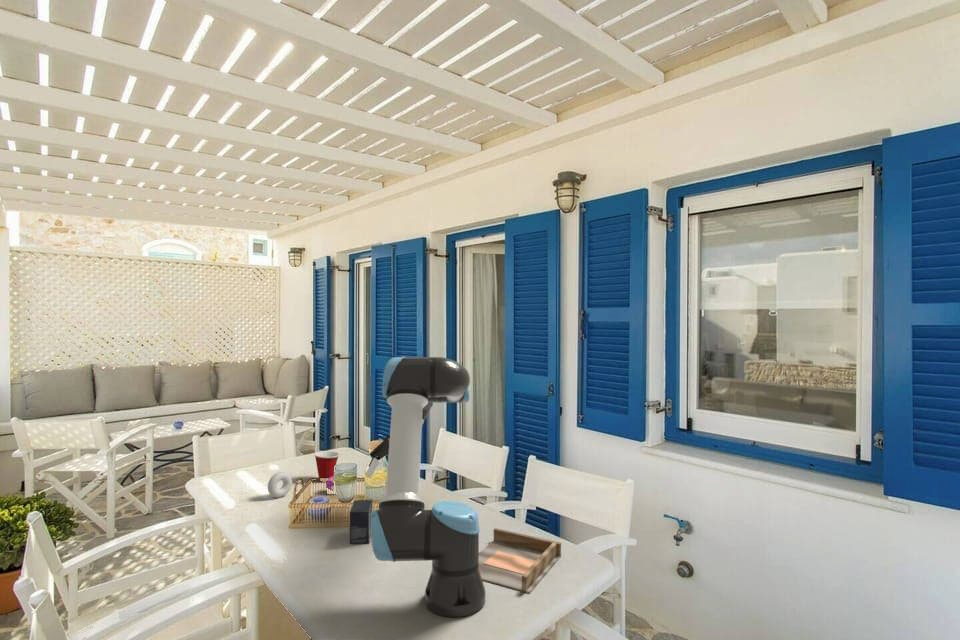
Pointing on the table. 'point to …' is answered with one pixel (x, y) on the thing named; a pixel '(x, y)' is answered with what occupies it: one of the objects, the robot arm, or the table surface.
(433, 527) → the robot arm
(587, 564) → the table surface
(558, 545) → the wooden tray
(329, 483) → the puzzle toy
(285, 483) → the donut
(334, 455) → the plastic cup
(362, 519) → the small box
